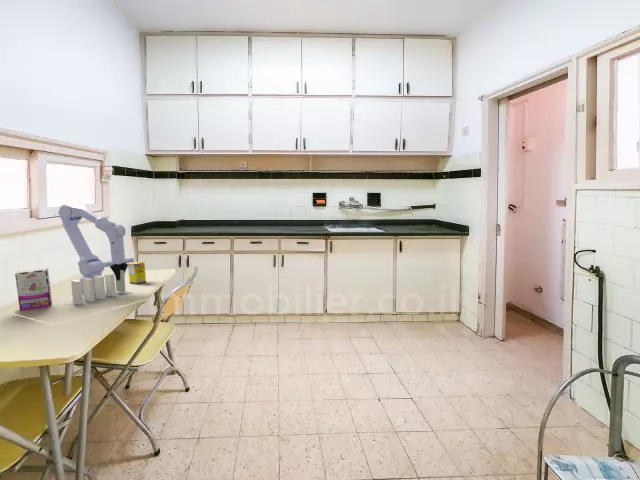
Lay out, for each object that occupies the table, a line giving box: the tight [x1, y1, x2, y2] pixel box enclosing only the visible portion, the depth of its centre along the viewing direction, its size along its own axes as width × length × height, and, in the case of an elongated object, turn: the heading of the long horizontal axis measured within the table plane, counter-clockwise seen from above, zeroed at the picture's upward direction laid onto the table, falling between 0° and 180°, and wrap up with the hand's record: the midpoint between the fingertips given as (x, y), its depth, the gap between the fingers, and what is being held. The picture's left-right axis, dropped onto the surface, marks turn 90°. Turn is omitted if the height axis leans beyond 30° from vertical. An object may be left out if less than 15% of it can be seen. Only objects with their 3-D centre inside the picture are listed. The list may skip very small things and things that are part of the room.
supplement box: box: [127, 261, 147, 285], centre depth 221 cm, size 6×6×11 cm
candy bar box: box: [14, 268, 53, 312], centre depth 176 cm, size 11×5×16 cm, turn 117°
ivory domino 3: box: [94, 275, 106, 299], centre depth 188 cm, size 2×5×10 cm, turn 58°
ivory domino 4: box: [104, 273, 117, 297], centre depth 192 cm, size 2×5×10 cm, turn 58°
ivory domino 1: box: [70, 279, 84, 305], centre depth 180 cm, size 2×5×10 cm, turn 58°
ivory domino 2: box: [83, 278, 95, 302], centre depth 184 cm, size 2×5×10 cm, turn 58°
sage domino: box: [115, 270, 126, 292], centre depth 196 cm, size 2×5×10 cm, turn 55°
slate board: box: [66, 291, 133, 308], centre depth 189 cm, size 26×10×1 cm, turn 148°
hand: (120, 279), depth 196 cm, fingers closed on sage domino, 1 cm apart
